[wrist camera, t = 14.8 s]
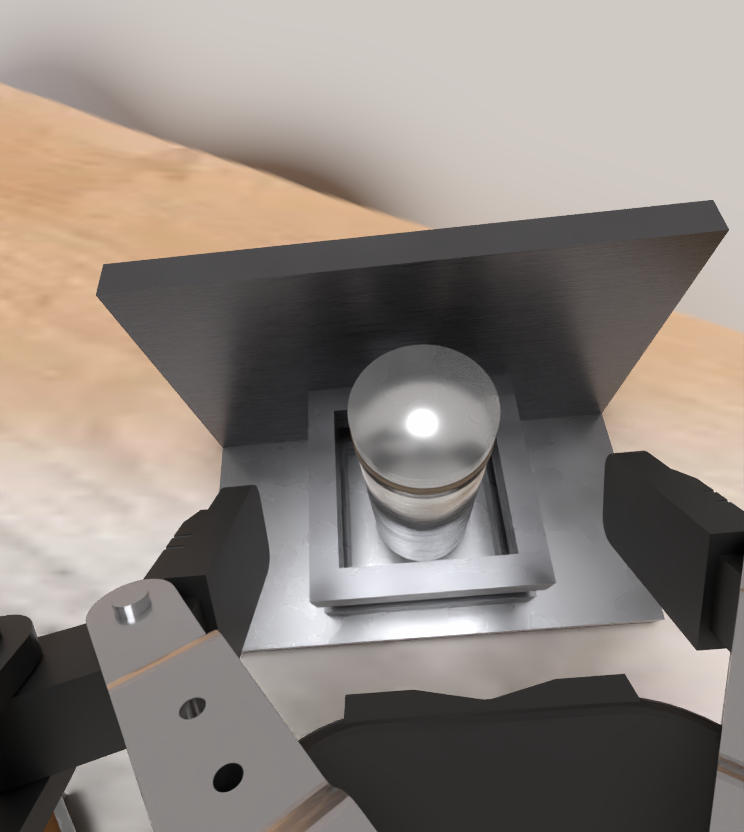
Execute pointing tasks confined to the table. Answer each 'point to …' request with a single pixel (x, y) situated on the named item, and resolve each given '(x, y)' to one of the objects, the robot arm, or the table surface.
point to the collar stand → (415, 325)
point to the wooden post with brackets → (60, 818)
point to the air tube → (423, 444)
